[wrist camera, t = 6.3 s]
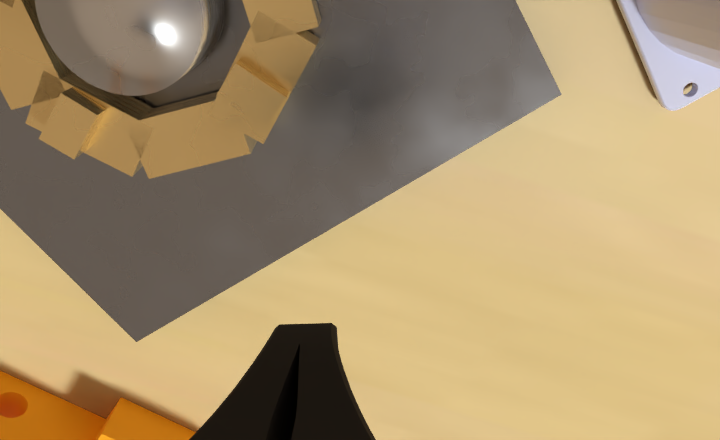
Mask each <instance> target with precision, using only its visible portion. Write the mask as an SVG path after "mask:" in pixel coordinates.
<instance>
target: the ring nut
mask: <svg viewBox="0 0 720 440" xmlns="http://www.w3.org/2000/svg"><path fill="white" fill-rule="evenodd" d="M242 1H243V4H244V7H245V10H246V13H247V16H248V20H249V23H250V26H251V27H250V29H249V31H248V33H247V35H246V37H245V39H244V41H243V43H242V45H241V48H240V50H239V52H238V54H237V56H236V58H235V60H234V62H233V64H232V66H231V68H230V70H229V72H228V74H227V77H226V79H225V81H224V83H223V85H222V86H221V88H220V90H219V91H218V92H214V93H210V94H206V95H202V96H199V97H195V98H191V99H187V100H183V101H180V102H176V103H172V104H168V105H164V106H160V107H157V108H152V107H151V106H149V105H147V104H145V103H143V102H141V101H139V100H137V99H135V98H134V97H132V96H126V95H120V94H115V93H111V92H107V91H104V90H102V89H99V88H97V87H95V86H93V85H91V84H89V83H87V82H86V81H84V80H83V79H81V78H80V77H78V76H77V75H76V74H75V73H74V72H72V71H71V70H70V69H69V68H68V67H67V66H66V65H65V64H64V63H63V62H62V61H61V60H60V59H59V57H58V56H57V55H56V53H55V52H54V51H53V49H52V48H51V46H50V44H49V43H48V41H47V39H46V37H45V35H44V33H43V31H42V28H41V26H40V23H39V20H38V16H37V11H36V7H35V0H0V90H1V92H2V94H3V95H4V97H5V99H6V101H7V103H8V105H9V107H10V108H11V110H13V109H17V108H20V107H24V106H28V105H31V104H32V105H31V108H30V111H29V114H28V117H27V120H26V123H25V124H27V125H29V126H31V127H33V128H35V129H37V130H39V131H41V132H42V133H41V135H40V137H39V139H40V140H42V141H43V142H45V143H47V144H48V145H50V146H52V147H54V148H55V149H57V150H59V151H60V152H62V153H64V154H65V155H67V156H69V157H71V158H72V159H75V158H77V157H78V156H79V155H81V154H82V153H85V154H88V155H90V156H92V157H94V158H96V159H98V160H100V161H102V162H104V163H106V164H108V165H110V166H112V167H114V168H116V169H118V170H120V171H122V172H124V173H126V174H128V175H130V176H132V177H133V176H134V175H135V174H136V172H137V171H138V170H139V169H140V168H141V167H142V166H143V167H144V169H145V172H146V174H147V176H148V178H149V179H151V178H155V177H159V176H163V175H167V174H171V173H175V172H179V171H183V170H187V169H191V168H195V167H199V166H203V165H207V164H211V163H215V162H219V161H223V160H227V159H231V158H235V157H239V156H243V155H247V154H251V152H252V150H253V148H254V147H255V145H256V143H257V141H259V142H260V143H262V144H264V142H265V140H266V138H267V137H268V135H269V133H270V131H271V129H272V127H273V125H274V124H275V122H276V120H277V118H278V116H279V114H280V112H281V111H282V109H283V107H284V105H285V103H286V101H287V100H288V98H289V96H290V94H291V92H292V90H293V88H294V87H295V85H296V83H297V81H298V79H299V77H300V75H301V74H302V72H303V70H304V68H305V66H306V64H307V62H308V61H309V59H310V57H311V55H312V53H313V51H314V50H315V48H316V46H317V44H318V41H319V39H320V38H319V37H317V36H315V35H314V34H312V33H310V32H309V31H307V30H308V29H312V28H316V27H319V25H320V23H321V21H322V20H321V16H320V13H319V9H318V5H317V2H316V0H242Z"/></svg>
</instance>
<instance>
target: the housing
mask: <svg viewBox="0 0 720 440" xmlns="http://www.w3.org/2000/svg"><path fill="white" fill-rule="evenodd" d="M316 2H317V5H318V9H319V13H320V16H321V20H322V21H321V23H320V25H319V27H316V28H312V29H308V30H307V31H309V32H310V33H312V34H314V35H315V36H317V37H319V38H320V39H319V41H318V44H317V46H316V48H315V50H314V51H313V53H312V55H311V57H310V59H309V61H308V62H307V64H306V66H305V68H304V70H303V72H302V74H301V75H300V77H299V79H298V81H297V83H296V85H295V87H294V88H293V90H292V92H291V94H290V96H289V98H288V100H287V101H286V103H285V105H284V107H283V109H282V111H281V112H280V114H279V116H278V118H277V120H276V122H275V124H274V125H273V127H272V129H271V131H270V133H269V135H268V137H267V138H266V140H265V142H264V144H262V143H260V142H259V141H257V143H256V145H255V147H254V148H253V150H252V152H251V154H247V155H243V156H239V157H235V158H231V159H227V160H223V161H219V162H215V163H211V164H207V165H203V166H199V167H195V168H191V169H187V170H183V171H179V172H175V173H171V174H167V175H163V176H159V177H155V178H151V179H149V178H148V176H147V174H146V172H145V169H144V167H143V166H142V167H141V168H140V169H139V170H138V171H137V172H136V174H135V175H134V176H133V177H132V176H130V175H128V174H126V173H124V172H122V171H120V170H118V169H116V168H114V167H112V166H110V165H108V164H106V163H104V162H102V161H100V160H98V159H96V158H94V157H92V156H90V155H88V154H85V153H82V154H81V155H79V156H78V157H77V158H75V159H72V158H71V157H69V156H67V155H65V154H64V153H62V152H60V151H59V150H57V149H55V148H54V147H52V146H50V145H48V144H47V143H45V142H43V141H42V140H40V139H39V137H40V135H41V133H42V132H41V131H39V130H37V129H35V128H33V127H31V126H29V125H27V124H25V123H26V120H27V117H28V114H29V111H30V108H31V105H32V104H31V105H28V106H24V107H20V108H17V109H13V110H11V108H10V107H9V105H8V103H7V101H6V99H5V97H4V95H3V94H2V92H1V90H0V209H1V210H2V211H3V212H4V213H5V214H6V215H7V216H8V217H9V218H10V219H11V220H13V221H14V222H15V223H16V224H17V225H18V226H19V227H20V228H21V229H22V230H23V231H24V232H25V233H26V234H27V235H28V236H29V237H30V238H31V239H32V240H33V241H34V242H35V243H36V244H37V245H38V246H39V247H40V248H41V249H42V250H43V251H44V252H45V253H46V254H47V255H48V256H49V257H50V258H51V259H52V260H53V261H54V262H55V263H56V264H57V265H58V266H59V267H60V268H61V269H62V270H63V271H65V272H66V273H67V274H68V275H69V276H70V277H71V278H72V279H73V280H74V281H75V282H76V283H77V284H78V285H79V286H80V287H81V288H82V289H83V290H84V291H85V292H86V293H87V294H88V295H89V296H90V297H91V298H92V299H93V300H94V301H95V302H96V303H97V304H98V305H99V306H100V307H101V308H102V309H103V310H104V311H105V312H106V313H107V314H108V315H109V316H110V317H111V318H112V319H113V320H114V321H115V322H116V323H118V324H119V325H120V326H121V327H122V328H123V329H124V330H125V331H126V332H127V333H128V334H129V335H130V336H131V337H132V338H133V339H134V340H135V341H136V342H137V341H139V340H141V339H142V338H144V337H146V336H147V335H149V334H151V333H153V332H154V331H156V330H158V329H159V328H161V327H163V326H165V325H166V324H168V323H170V322H171V321H173V320H175V319H177V318H178V317H180V316H182V315H183V314H185V313H187V312H189V311H190V310H192V309H194V308H196V307H197V306H199V305H201V304H202V303H204V302H206V301H208V300H209V299H211V298H213V297H214V296H216V295H218V294H220V293H221V292H223V291H225V290H226V289H228V288H230V287H232V286H233V285H235V284H237V283H238V282H240V281H242V280H244V279H245V278H247V277H249V276H250V275H252V274H254V273H256V272H257V271H259V270H261V269H263V268H264V267H266V266H268V265H269V264H271V263H273V262H275V261H276V260H278V259H280V258H281V257H283V256H285V255H287V254H288V253H290V252H292V251H293V250H295V249H297V248H299V247H300V246H302V245H304V244H305V243H307V242H309V241H311V240H312V239H314V238H316V237H317V236H319V235H321V234H323V233H324V232H326V231H328V230H329V229H331V228H333V227H335V226H336V225H338V224H340V223H342V222H343V221H345V220H347V219H348V218H350V217H352V216H354V215H355V214H357V213H359V212H360V211H362V210H364V209H366V208H367V207H369V206H371V205H372V204H374V203H376V202H378V201H379V200H381V199H383V198H384V197H386V196H388V195H390V194H391V193H393V192H395V191H396V190H398V189H400V188H402V187H403V186H405V185H407V184H408V183H410V182H412V181H414V180H415V179H417V178H419V177H421V176H422V175H424V174H426V173H427V172H429V171H431V170H433V169H434V168H436V167H438V166H439V165H441V164H443V163H445V162H446V161H448V160H450V159H451V158H453V157H455V156H457V155H458V154H460V153H462V152H463V151H465V150H467V149H469V148H470V147H472V146H474V145H475V144H477V143H479V142H481V141H482V140H484V139H486V138H487V137H489V136H491V135H493V134H494V133H496V132H498V131H500V130H501V129H503V128H505V127H506V126H508V125H510V124H512V123H513V122H515V121H517V120H518V119H520V118H522V117H524V116H525V115H527V114H529V113H530V112H532V111H534V110H536V109H537V108H539V107H541V106H542V105H544V104H546V103H548V102H549V101H551V100H553V99H554V98H556V97H558V96H560V95H561V92H560V90H559V88H558V86H557V84H556V82H555V80H554V78H553V76H552V74H551V72H550V70H549V68H548V66H547V64H546V62H545V60H544V58H543V56H542V54H541V52H540V50H539V48H538V46H537V44H536V42H535V39H534V37H533V35H532V33H531V31H530V29H529V27H528V25H527V23H526V21H525V19H524V17H523V15H522V13H521V11H520V9H519V7H518V5H517V3H516V1H515V0H316ZM35 7H36V11H37V16H38V20H39V23H40V26H41V28H42V31H43V33H44V35H45V37H46V39H47V41H48V43H49V44H50V46H51V48H52V49H53V51H54V52H55V53H56V55H57V56H58V57H59V59H60V60H61V61H62V62H63V63H64V64H65V65H66V66H67V67H68V68H69V69H70V70H71V71H72V72H74V73H75V74H76V75H77V76H78V77H80V78H81V79H83V80H84V81H86V82H87V83H89V84H91V85H93V86H95V87H97V88H99V89H102V90H104V91H107V92H111V93H115V94H120V95H126V96H132V97H134V98H135V99H137V100H139V101H141V102H143V103H145V104H147V105H149V106H151V107H152V108H157V107H160V106H164V105H168V104H172V103H176V102H180V101H183V100H187V99H191V98H195V97H199V96H202V95H206V94H210V93H214V92H218V91H219V90H220V88H221V86H222V85H223V83H224V81H225V79H226V77H227V74H228V72H229V70H230V68H231V66H232V64H233V62H234V60H235V58H236V56H237V54H238V52H239V50H240V48H241V45H242V43H243V41H244V39H245V37H246V35H247V33H248V31H249V29H250V27H251V26H250V23H249V20H248V16H247V13H246V10H245V7H244V4H243V1H242V0H35Z"/></svg>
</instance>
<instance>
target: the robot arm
mask: <svg viewBox="0 0 720 440" xmlns="http://www.w3.org/2000/svg"><path fill="white" fill-rule="evenodd" d="M616 1H617V3H618V6H619V8H620V11H621V13H622V15H623V18H624V20H625V23H626V25H627V27H628V30H629V32H630V35H631V37H632V39H633V42H634V44H635V47H636V49H637V51H638V54H639V56H640V59H641V61H642V63H643V66H644V68H645V71H646V73H647V75H648V78H649V80H650V82H651V85H652V87H653V90H654V92H655V94H656V97H657V99H658V102H659V103H660V105H661V106H662V107H664V108H666V109H668V110H673V111H675V110H678V109H681V108H683V107H685V106H686V105H688V104H690V103H692V102H694V101H696V100H697V99H699V98H701V97H703V96H705V95H707V94H708V93H710V92H712V91H714V90H716V89H718V88H719V87H720V0H616ZM688 83H692V89H691V91H690V92H688V93H687V94H683V89H684V87H685V86H686V85H687V84H688ZM189 440H376V439H375V438H374V436H373V434H372V432H371V431H370V429H369V427H368V425H367V423H366V421H365V419H364V417H363V415H362V413H361V411H360V409H359V407H358V404H357V402H356V400H355V398H354V395H353V393H352V391H351V388H350V385H349V383H348V380H347V377H346V374H345V372H344V369H343V365H342V362H341V358H340V354H339V350H338V339H337V327H336V326H335V325H333V324H332V323H320V324H285V325H278V326H277V327H276V328H275V330H274V331H273V333H272V335H271V336H270V338H269V339H268V341H267V343H266V344H265V346H264V347H263V349H262V350H261V352H260V353H259V355H258V356H257V358H256V359H255V361H254V362H253V364H252V365H251V366H250V368H249V369H248V371H247V372H246V373H245V375H244V376H243V377H242V379H241V380H240V381H239V383H238V384H237V385H236V387H235V388H234V389H233V391H232V392H231V393H230V394H229V395H228V397H227V398H226V399H225V400H224V401H223V403H222V404H221V405H220V406H219V408H218V409H217V410H216V411H215V412H214V413H213V415H212V416H211V417H210V418H209V419H208V420H207V421H206V422H205V423H204V425H203V426H202V427H201V428H200V429H199V430H198V431H197V432H196V433H195V434H194V435H193V436H192V437H191V438H190V439H189Z"/></svg>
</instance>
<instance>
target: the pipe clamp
mask: <svg viewBox="0 0 720 440" xmlns="http://www.w3.org/2000/svg"><path fill="white" fill-rule="evenodd" d="M195 433H196V432H194V431H192V430H190V429H188V428H185V427H183V426H181V425H179V424H177V423H175V422H173V421H171V420H168V419H166V418H164V417H162V416H160V415H158V414H156V413H154V412H152V411H149V410H147V409H145V408H143V407H141V406H139V405H137V404H135V403H132V402H130V401H128V400H126V399H124V398H122V397H121V398H120V399H119V401H118V402H117V404H116V405H115V407H114V408H113V410H112V411H111V413H110V414H109V416H108V417H107V419H105V418H103V417H100V416H98V415H96V414H94V413H92V412H90V411H87V410H85V409H83V408H81V407H79V406H76V405H74V404H72V403H70V402H68V401H66V400H63V399H61V398H59V397H57V396H55V395H52V394H50V393H48V392H46V391H44V390H41V389H39V388H37V387H35V386H33V385H31V384H28V383H26V382H24V381H22V380H20V379H17V378H15V377H13V376H11V375H9V374H7V373H4V372H2V371H0V440H189V439H190V438H191V437H192V436H193V435H194V434H195Z"/></svg>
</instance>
